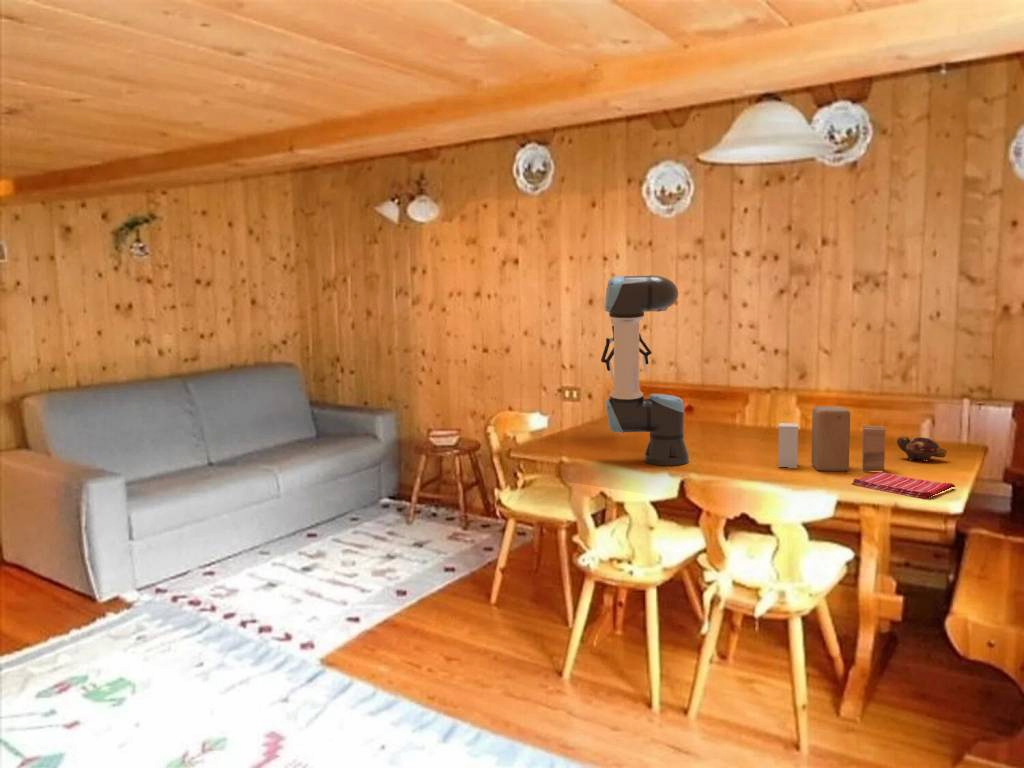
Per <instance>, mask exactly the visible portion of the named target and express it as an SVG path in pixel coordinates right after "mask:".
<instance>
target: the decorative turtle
mask: <svg viewBox="0 0 1024 768" xmlns="http://www.w3.org/2000/svg"><path fill="white" fill-rule="evenodd" d="M896 443H897V446H898V447H899V449H900V450H901V451H902V452H904V453H905V454H906V456H907V458H908V460H909V459H911V460H913V461H915V460H916V459H917V458H919V459H921V460H922V461H923V460H925V461H926V460H928V461H930V460H931V458H932V457H935V458H945V457H946V456H947V454H948V452H947V449H944V448H942V447H940V445H939V444H938V443H937V442H936V441H934V440H932V439H930V438H927V437H915V438H913V439H911V440H910V438H909V437H907V436H900V437H898V438H897V440H896ZM914 459H915V460H914Z"/></svg>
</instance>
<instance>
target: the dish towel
mask: <svg viewBox="0 0 1024 768" xmlns="http://www.w3.org/2000/svg"><path fill="white" fill-rule="evenodd" d="M852 481H853V482H852V483H851V485H852V484H853V485H854V486H858V487H863V488H866V489H867V488H868V489H872V490H876V491H881V492H887V493H891V494H896V495H902V496H906V497H914V498H918V499H923V500H927V499H928V500H929V499H930V498H929V497H931V496H933V495H935V494H938V493H940V492H942V491H945V490H947V489H949V488H951V487H955V488H956V485H955V484H954V483H951V482H940V481H939V482H938V481H931V480H926V479H921V478H920V479H919V478H913V477H906V476H902V475H901V476H900V475H895V474H891V473H888V472H884V473H883V472H878V473H873V474H870V475H867V476H864V477H861V478H854V479H853V480H852Z"/></svg>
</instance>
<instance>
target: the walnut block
mask: <svg viewBox="0 0 1024 768" xmlns="http://www.w3.org/2000/svg"><path fill="white" fill-rule="evenodd" d="M885 447H886V428H885V427H884V426H883V425H882V426H881V425H880V426H879V425H878V426H877V425H863V429H862V461H861V462H862V464H861V465H862V466H861V467H863V468H862V472H863V471H884V472H885V451H886V450H885V449H886V448H885Z"/></svg>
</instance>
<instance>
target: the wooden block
mask: <svg viewBox="0 0 1024 768" xmlns="http://www.w3.org/2000/svg"><path fill="white" fill-rule="evenodd" d="M811 414H812V416H811V417H812V419H811V420H812V423H811V460H810V461H811V465H812V464H813V465H812V466H813V467H814V468H815V469H816V470H817V471H819V470H820V471H819V472H847V471H849V469H850V441H851V440H850V438H851V437H850V436H851V411H850V410H848V409H847V408H845V407H844V406H842V405H838V406H837V405H836V406H835V405H834V406H832V405H827V406H825V405H821V406H820V405H818V406H817V405H815V406H813V408H812V412H811ZM845 470H846V471H845Z"/></svg>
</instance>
